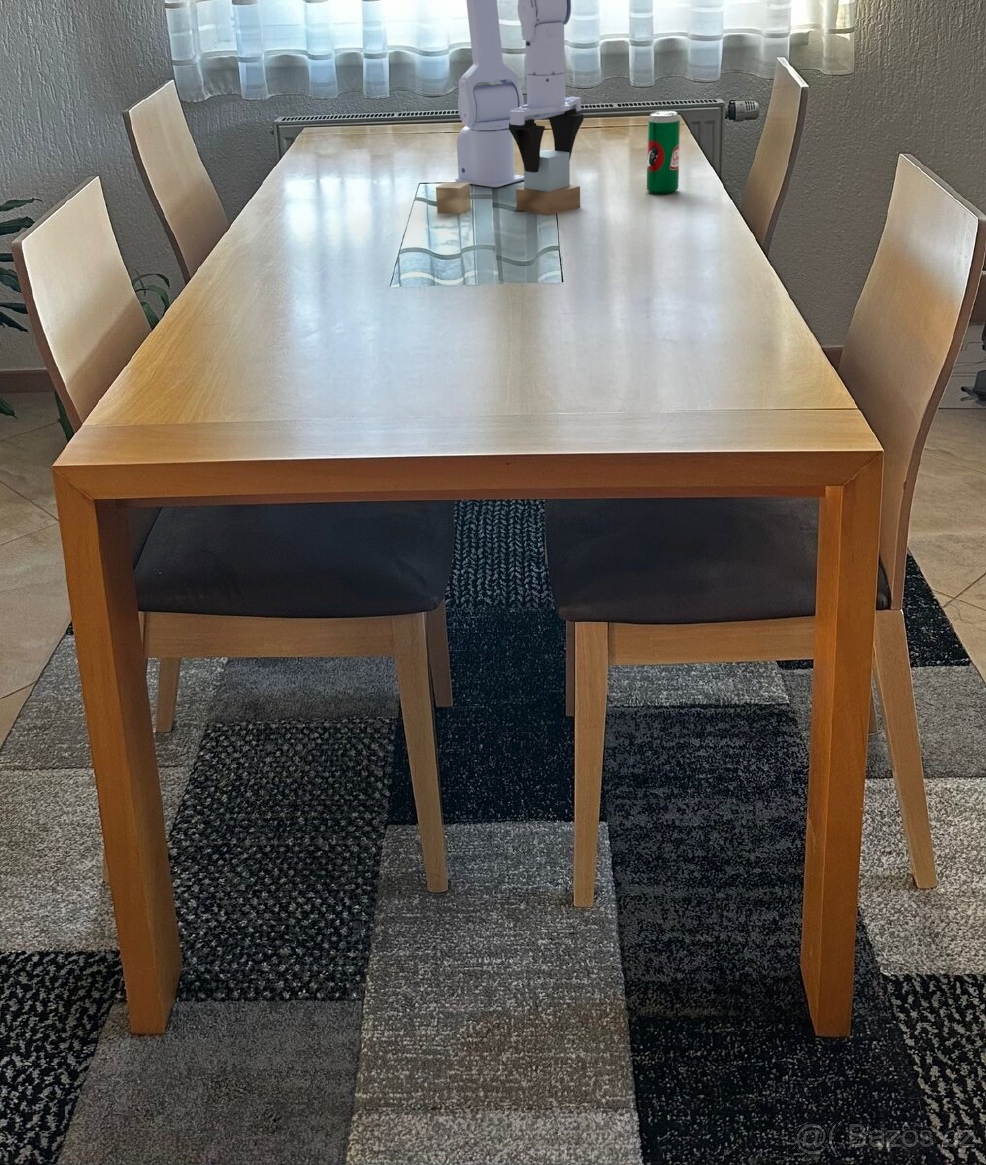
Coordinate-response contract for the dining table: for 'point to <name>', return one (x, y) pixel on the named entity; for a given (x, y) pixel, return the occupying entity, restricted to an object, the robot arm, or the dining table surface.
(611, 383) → the dining table surface
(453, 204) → the oak block
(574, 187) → the walnut base
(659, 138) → the soda can
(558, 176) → the light grey cube
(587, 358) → the dining table surface
